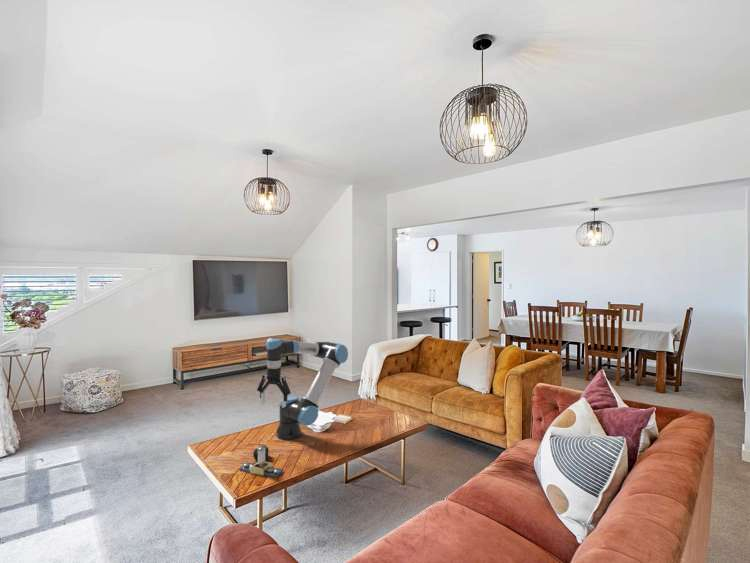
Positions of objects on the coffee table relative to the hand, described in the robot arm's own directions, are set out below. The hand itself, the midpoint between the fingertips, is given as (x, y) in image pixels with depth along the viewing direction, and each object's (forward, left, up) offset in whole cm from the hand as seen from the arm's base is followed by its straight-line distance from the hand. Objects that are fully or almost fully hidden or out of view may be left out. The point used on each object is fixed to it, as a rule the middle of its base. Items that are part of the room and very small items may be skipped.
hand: (273, 405), depth 216 cm
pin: (+19, +6, -27) cm, 33 cm away
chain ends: (+19, +6, -27) cm, 33 cm away
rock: (+8, -2, -27) cm, 28 cm away
